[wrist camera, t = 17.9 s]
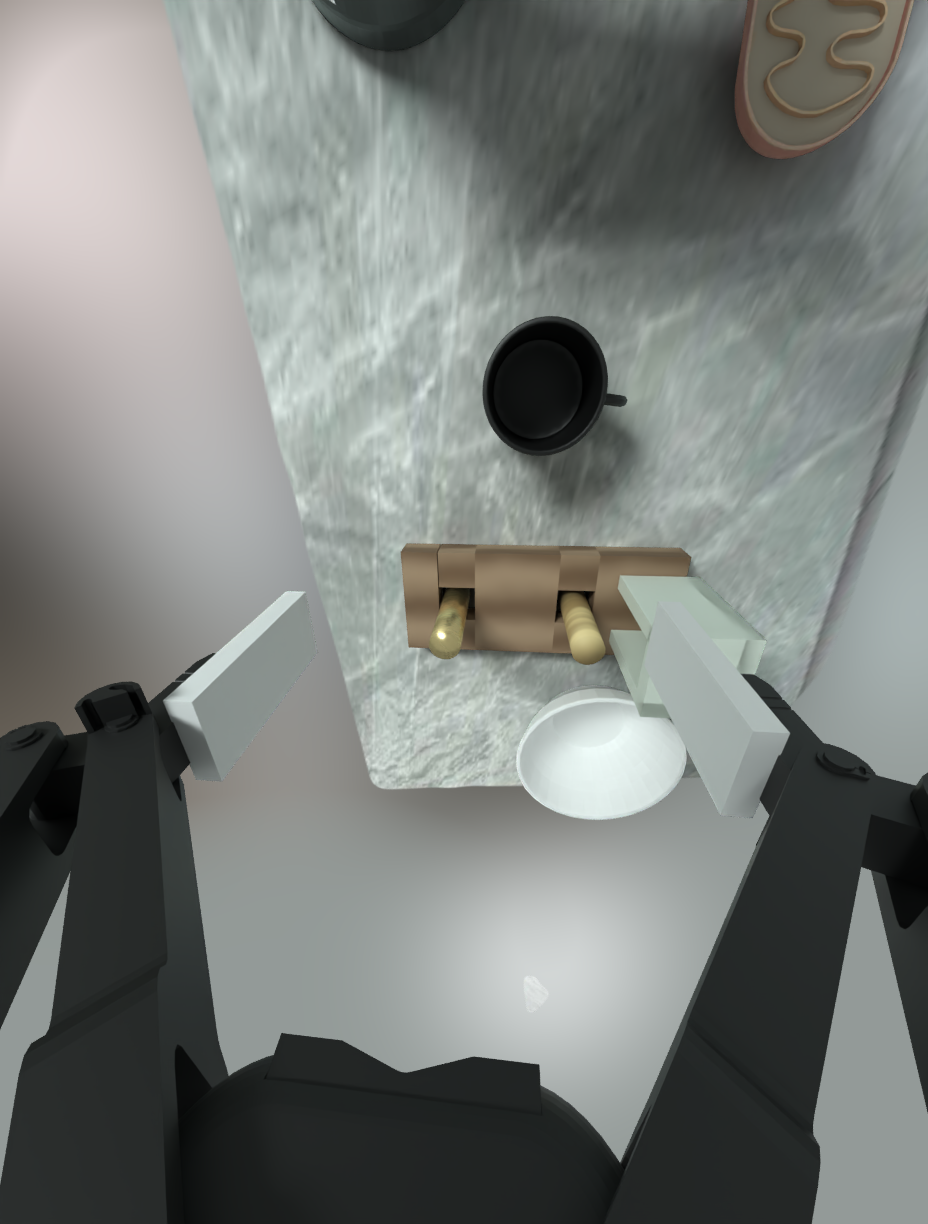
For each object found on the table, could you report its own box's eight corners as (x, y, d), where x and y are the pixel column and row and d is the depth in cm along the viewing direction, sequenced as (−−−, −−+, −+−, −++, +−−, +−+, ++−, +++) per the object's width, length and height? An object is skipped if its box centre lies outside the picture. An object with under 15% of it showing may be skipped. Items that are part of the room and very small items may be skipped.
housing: (619, 575, 44) (658, 636, 33) (700, 577, 44) (767, 640, 32) (609, 641, 48) (640, 716, 37) (682, 643, 47) (737, 721, 36)
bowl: (536, 779, 63) (539, 829, 56) (496, 676, 56) (495, 719, 48) (673, 756, 59) (696, 807, 52) (651, 640, 51) (675, 681, 44)
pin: (445, 581, 50) (428, 631, 39) (470, 581, 50) (460, 632, 39) (445, 603, 51) (429, 658, 41) (470, 604, 51) (460, 659, 40)
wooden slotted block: (406, 543, 48) (378, 585, 38) (680, 548, 46) (733, 594, 35) (413, 634, 54) (390, 693, 43) (658, 643, 51) (698, 708, 40)
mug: (600, 454, 42) (622, 467, 34) (481, 438, 43) (475, 447, 34) (628, 343, 38) (660, 328, 30) (495, 326, 38) (491, 307, 30)
